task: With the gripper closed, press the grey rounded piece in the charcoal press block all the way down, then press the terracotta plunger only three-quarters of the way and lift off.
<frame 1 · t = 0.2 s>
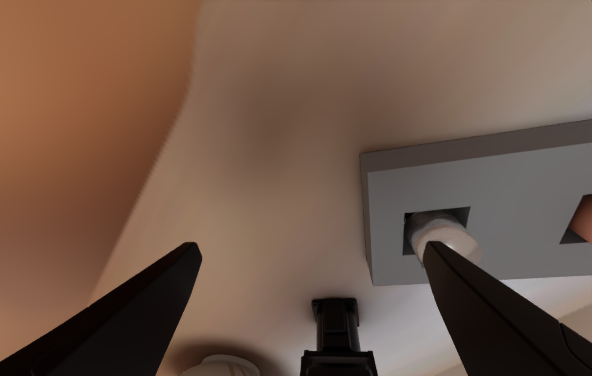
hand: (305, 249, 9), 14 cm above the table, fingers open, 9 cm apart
decorative bowl: (231, 367, 48), on the table
press block: (486, 200, 23), on the table
grey rounded piece: (438, 240, 19), point 5 cm above the table, slide at 0.0 cm
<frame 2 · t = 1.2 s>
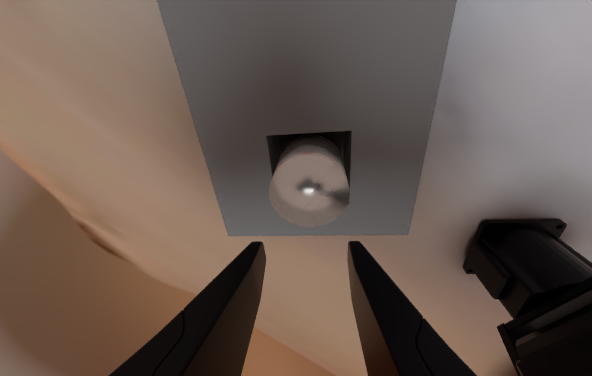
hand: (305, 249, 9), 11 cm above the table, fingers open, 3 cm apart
press block: (306, 59, 15), on the table
grey rounded piece: (309, 178, 14), point 5 cm above the table, slide at 0.0 cm
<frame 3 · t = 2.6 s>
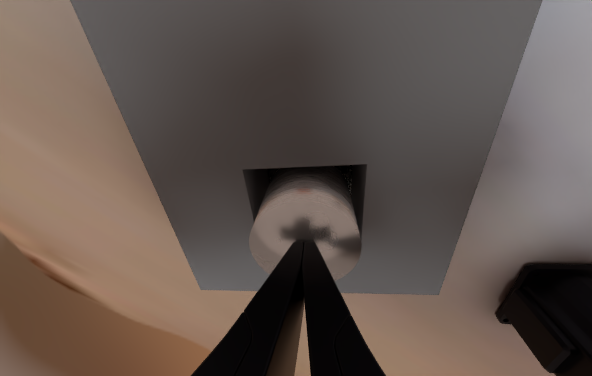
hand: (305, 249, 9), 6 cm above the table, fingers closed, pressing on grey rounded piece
press block: (301, 59, 11), on the table
grey rounded piece: (306, 217, 11), point 4 cm above the table, slide at 1.0 cm, touching gripper
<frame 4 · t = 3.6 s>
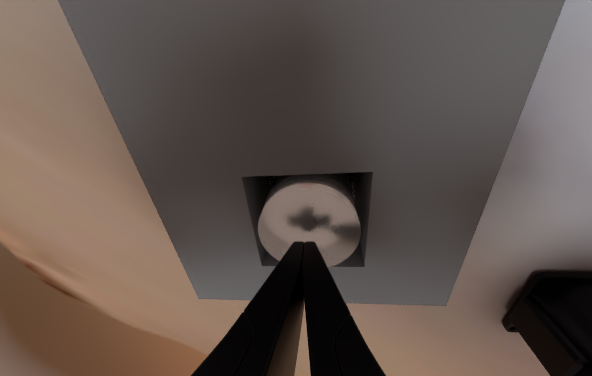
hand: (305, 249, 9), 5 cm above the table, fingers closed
press block: (303, 60, 10), on the table
grey rounded piece: (309, 207, 11), point 3 cm above the table, slide at 2.5 cm
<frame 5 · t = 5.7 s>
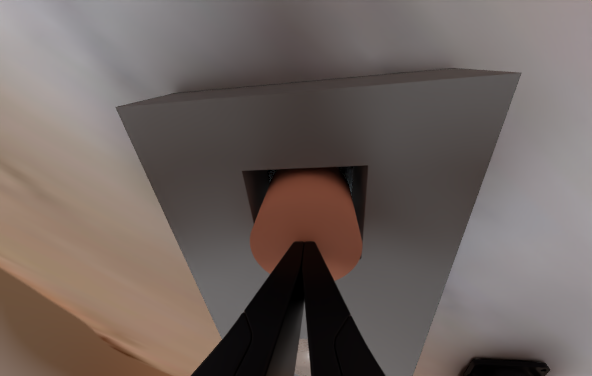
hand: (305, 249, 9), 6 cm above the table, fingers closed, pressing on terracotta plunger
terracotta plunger: (307, 217, 11), point 4 cm above the table, slide at 1.1 cm, touching gripper
press block: (314, 255, 17), on the table
grey rounded piece: (318, 337, 18), point 3 cm above the table, slide at 2.5 cm
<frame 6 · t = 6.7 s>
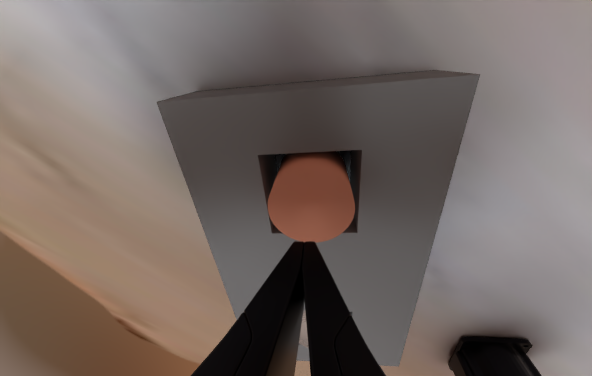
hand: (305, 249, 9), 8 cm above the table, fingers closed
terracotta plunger: (311, 190, 13), point 3 cm above the table, slide at 1.7 cm
press block: (316, 237, 19), on the table
grey rounded piece: (319, 312, 20), point 3 cm above the table, slide at 2.5 cm
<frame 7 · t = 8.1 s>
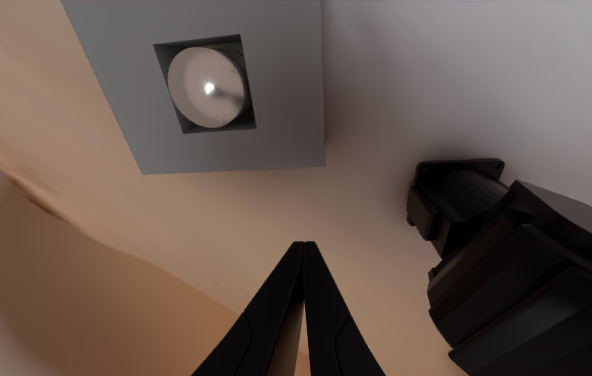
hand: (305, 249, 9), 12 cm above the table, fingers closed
grey rounded piece: (217, 87, 15), point 3 cm above the table, slide at 2.5 cm
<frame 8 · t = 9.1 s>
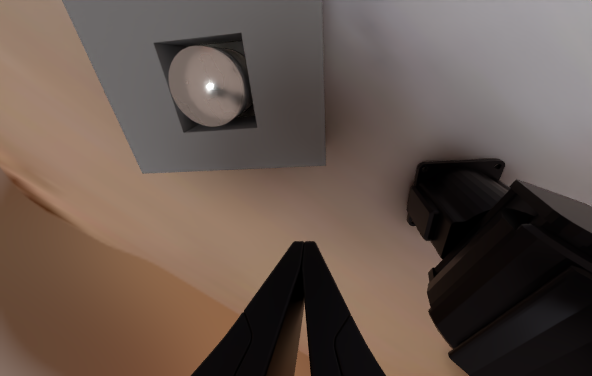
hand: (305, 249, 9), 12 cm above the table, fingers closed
grey rounded piece: (218, 85, 15), point 3 cm above the table, slide at 2.5 cm
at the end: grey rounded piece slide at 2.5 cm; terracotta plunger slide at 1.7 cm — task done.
